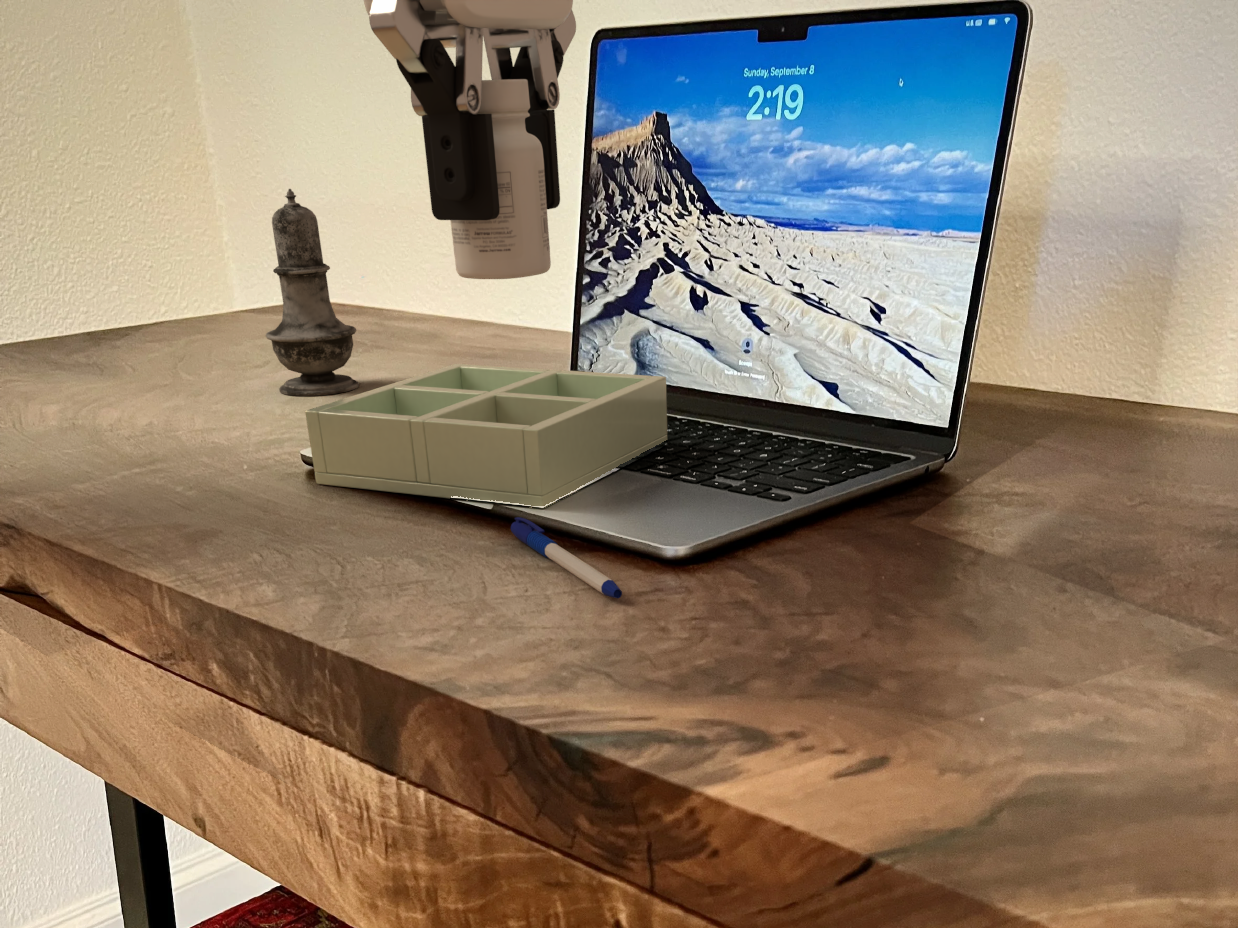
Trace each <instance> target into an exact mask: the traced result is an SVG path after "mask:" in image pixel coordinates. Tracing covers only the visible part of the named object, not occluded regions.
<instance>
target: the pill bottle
mask: <svg viewBox="0 0 1238 928" xmlns="http://www.w3.org/2000/svg"><path fill="white" fill-rule="evenodd" d="M529 109H530V102H529V90H528V81H527V80H526V79H506V80H492V79H482V94H481V107H480V110H479V112H478V113H477V114H492V125H493V136H494V148H495V160H496V172H497V184H498V196H499V208H500V211H499V215H498V217H497V218H495V219H491V220H449V221H450V226H451V227H450V228H451V229H450V230H451V238H452V245H453V246H452V247H453V255H454V264H455V270H456V273H457V274H458V276H459V277H461V278H465V279H470V280H471V279H473V280H509V279H519V278H526V277H527V278H528V277H533V276H539V275H542V274H545V273H548V272H549V270H550V269H551V266H552V264H551V263H552V262H551V247H550V246H551V245H550V233H549V218H548V209H547V203H546V188H545V173H544V159H543V149H542V145H541V143H540V141H539V140H538V138H537V137H535V136H534V135H532V134H529V133H527V131H526V128H525V118H527V117H529V116H530V114H529V113H528V110H529Z"/></svg>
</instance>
